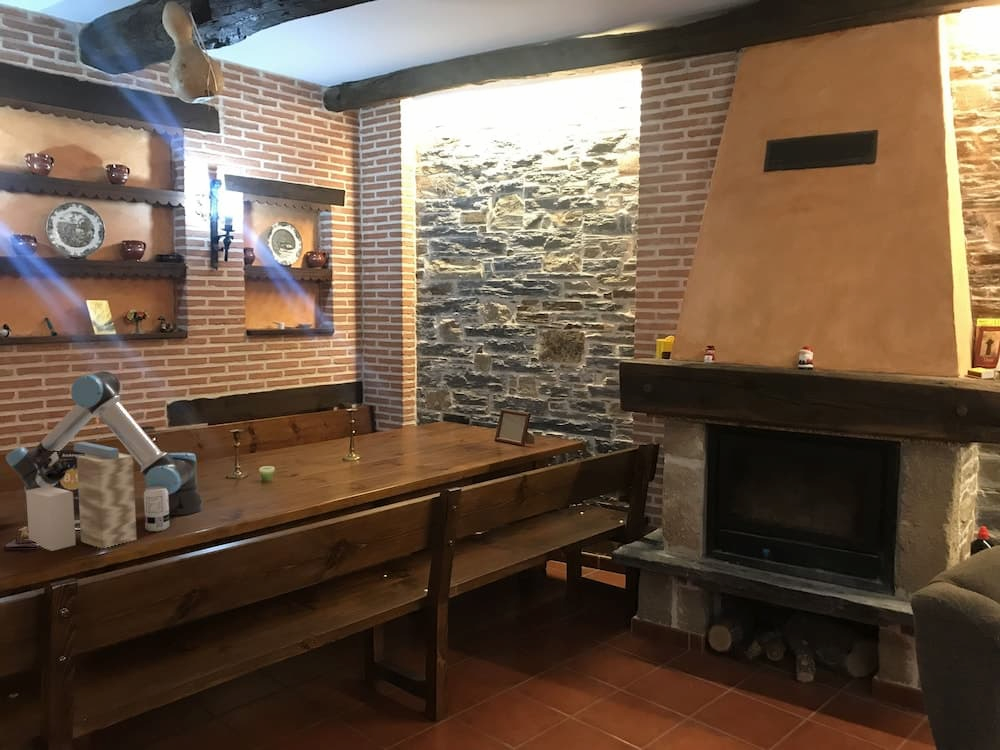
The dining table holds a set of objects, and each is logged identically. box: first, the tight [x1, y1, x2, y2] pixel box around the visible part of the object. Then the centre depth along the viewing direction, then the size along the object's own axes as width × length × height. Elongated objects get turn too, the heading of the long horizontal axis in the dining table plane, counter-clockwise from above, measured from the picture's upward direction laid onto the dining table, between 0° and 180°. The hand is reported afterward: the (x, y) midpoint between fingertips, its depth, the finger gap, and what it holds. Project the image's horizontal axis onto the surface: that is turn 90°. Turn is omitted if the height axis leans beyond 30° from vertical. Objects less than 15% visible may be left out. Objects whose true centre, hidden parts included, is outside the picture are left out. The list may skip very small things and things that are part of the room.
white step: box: [25, 486, 76, 552], centre depth 277 cm, size 8×15×18 cm, turn 56°
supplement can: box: [143, 486, 170, 532], centre depth 296 cm, size 8×8×15 cm
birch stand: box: [76, 452, 138, 549], centre depth 280 cm, size 12×14×30 cm
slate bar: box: [73, 441, 120, 459], centre depth 282 cm, size 3×23×3 cm, turn 56°
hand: (75, 452), depth 288 cm, fingers open, 13 cm apart
